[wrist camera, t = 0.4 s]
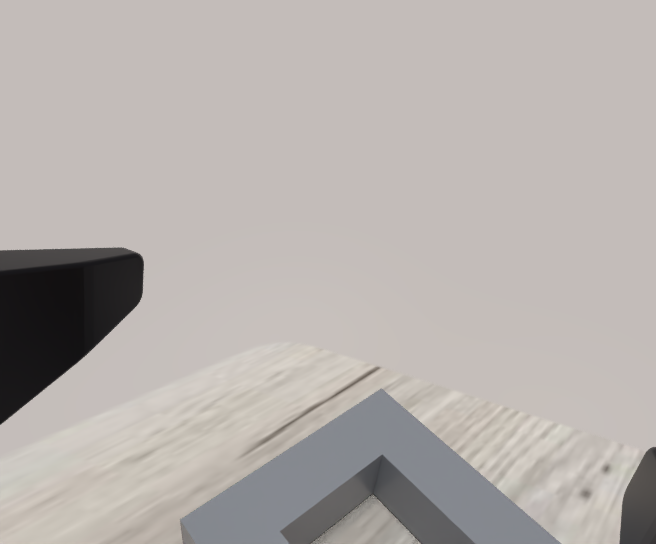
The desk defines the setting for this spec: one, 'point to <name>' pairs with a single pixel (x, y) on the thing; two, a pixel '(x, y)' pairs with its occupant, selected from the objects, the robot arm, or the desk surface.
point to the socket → (364, 488)
